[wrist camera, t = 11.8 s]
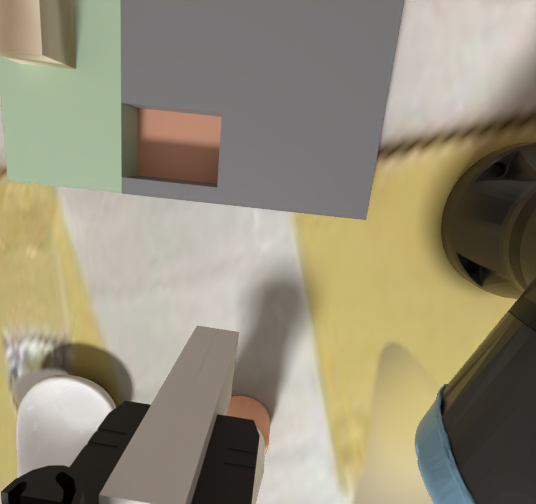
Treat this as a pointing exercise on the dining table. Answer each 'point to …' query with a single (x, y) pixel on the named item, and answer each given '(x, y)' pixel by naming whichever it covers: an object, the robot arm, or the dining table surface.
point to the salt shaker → (259, 414)
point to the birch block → (38, 32)
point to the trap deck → (211, 103)
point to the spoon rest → (58, 420)
